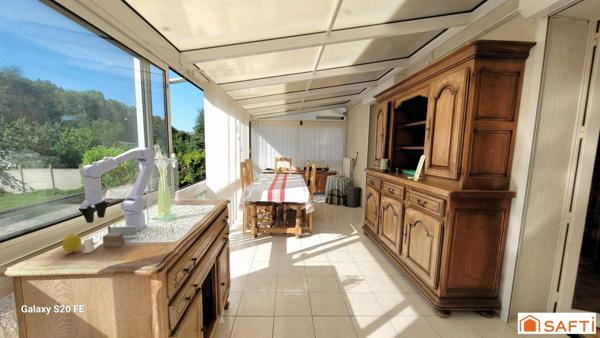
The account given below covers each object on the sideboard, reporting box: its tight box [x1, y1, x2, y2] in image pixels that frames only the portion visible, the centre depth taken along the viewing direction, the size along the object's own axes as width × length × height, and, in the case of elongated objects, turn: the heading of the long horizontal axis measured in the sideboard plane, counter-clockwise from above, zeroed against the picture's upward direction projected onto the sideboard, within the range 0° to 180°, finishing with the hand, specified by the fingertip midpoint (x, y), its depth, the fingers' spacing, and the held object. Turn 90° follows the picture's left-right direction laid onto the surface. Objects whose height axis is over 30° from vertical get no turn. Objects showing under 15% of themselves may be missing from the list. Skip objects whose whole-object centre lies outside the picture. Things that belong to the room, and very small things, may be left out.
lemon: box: [61, 233, 82, 253], centre depth 96 cm, size 6×6×8 cm
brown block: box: [102, 232, 125, 248], centre depth 103 cm, size 4×6×5 cm, turn 101°
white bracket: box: [83, 224, 116, 254], centre depth 105 cm, size 18×2×5 cm, turn 11°
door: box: [107, 225, 138, 237], centre depth 112 cm, size 12×2×5 cm, turn 99°
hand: (95, 219), depth 107 cm, fingers open, 7 cm apart
